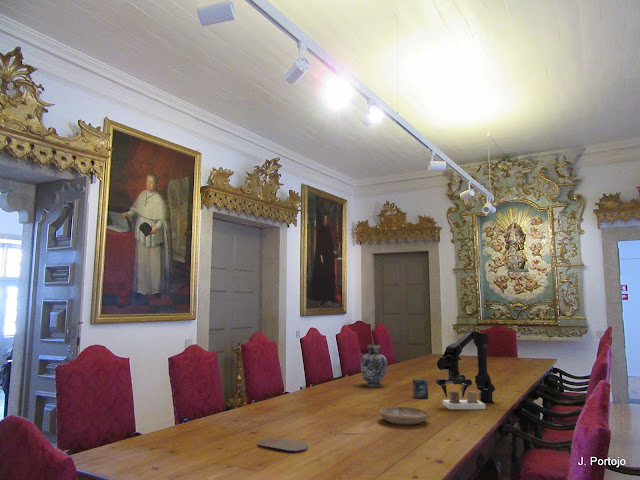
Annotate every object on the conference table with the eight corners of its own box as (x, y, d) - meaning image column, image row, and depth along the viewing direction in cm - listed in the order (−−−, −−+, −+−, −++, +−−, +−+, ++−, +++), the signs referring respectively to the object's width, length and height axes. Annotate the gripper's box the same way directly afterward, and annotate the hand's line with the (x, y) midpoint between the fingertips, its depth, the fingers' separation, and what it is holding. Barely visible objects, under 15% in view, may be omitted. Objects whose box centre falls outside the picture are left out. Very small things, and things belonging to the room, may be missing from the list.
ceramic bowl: (425, 430, 212) (425, 419, 212) (374, 425, 220) (374, 414, 220) (431, 418, 233) (431, 408, 234) (385, 414, 241) (385, 404, 242)
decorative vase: (357, 382, 335) (358, 343, 339) (383, 382, 337) (383, 343, 341) (363, 388, 314) (364, 346, 318) (390, 388, 316) (390, 346, 320)
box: (416, 398, 282) (415, 380, 284) (412, 396, 288) (412, 378, 289) (428, 398, 283) (428, 380, 285) (425, 396, 289) (424, 378, 290)
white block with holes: (477, 404, 266) (477, 389, 267) (485, 409, 254) (484, 393, 255) (442, 404, 266) (442, 389, 267) (449, 409, 254) (448, 393, 255)
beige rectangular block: (457, 405, 262) (456, 391, 263) (459, 407, 258) (459, 392, 259) (450, 405, 262) (449, 391, 263) (452, 407, 258) (451, 392, 259)
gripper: (441, 370, 254) (441, 400, 252) (475, 370, 255) (476, 400, 253) (435, 368, 266) (436, 396, 263) (468, 368, 266) (469, 396, 264)
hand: (454, 397), depth 261 cm, fingers open, 9 cm apart
